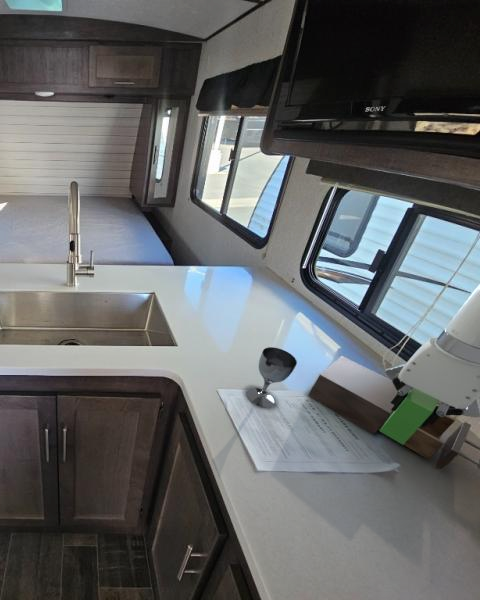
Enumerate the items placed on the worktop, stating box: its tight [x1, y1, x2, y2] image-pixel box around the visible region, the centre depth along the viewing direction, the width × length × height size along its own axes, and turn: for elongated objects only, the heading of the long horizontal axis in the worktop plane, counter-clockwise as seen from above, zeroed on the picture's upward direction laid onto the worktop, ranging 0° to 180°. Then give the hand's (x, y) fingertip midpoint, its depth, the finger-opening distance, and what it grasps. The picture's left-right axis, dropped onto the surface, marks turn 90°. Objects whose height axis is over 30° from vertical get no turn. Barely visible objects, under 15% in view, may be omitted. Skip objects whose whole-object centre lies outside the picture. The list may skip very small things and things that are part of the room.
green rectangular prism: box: [379, 388, 441, 446], centre depth 66 cm, size 4×7×10 cm, turn 125°
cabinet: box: [307, 355, 397, 436], centre depth 88 cm, size 16×15×8 cm
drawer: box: [377, 411, 480, 471], centre depth 78 cm, size 19×13×6 cm
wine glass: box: [246, 346, 298, 409], centre depth 87 cm, size 8×8×15 cm
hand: (409, 414), depth 66 cm, fingers closed on green rectangular prism, 4 cm apart
